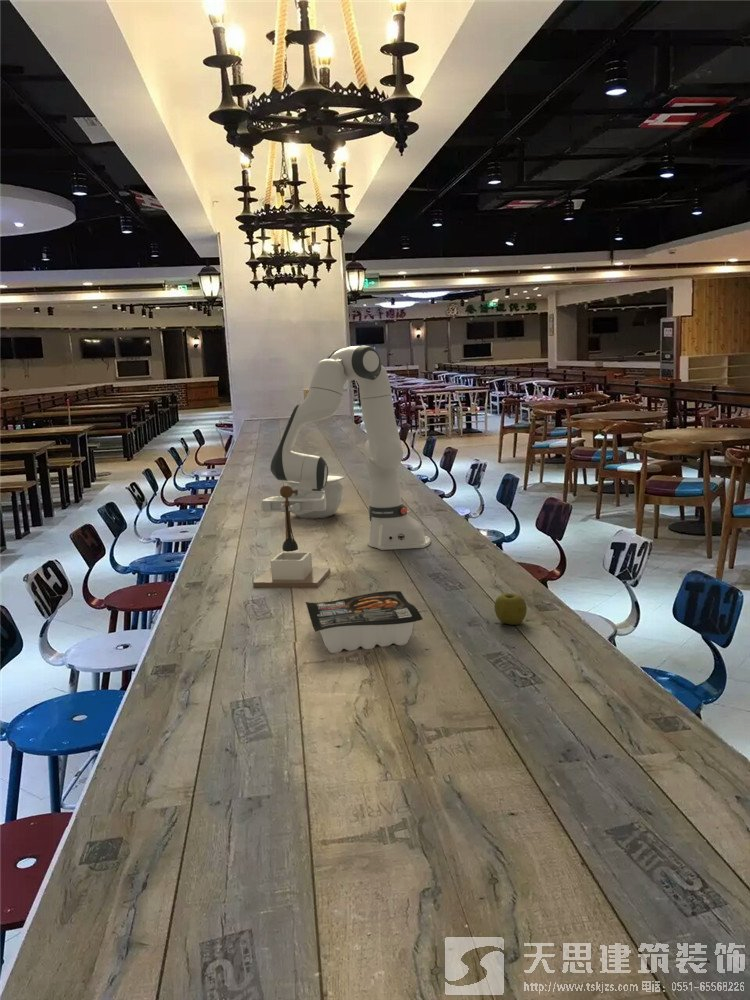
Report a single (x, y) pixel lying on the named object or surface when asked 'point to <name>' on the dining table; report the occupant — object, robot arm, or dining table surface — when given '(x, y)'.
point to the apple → (510, 608)
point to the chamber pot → (332, 496)
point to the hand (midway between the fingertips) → (286, 509)
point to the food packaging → (364, 621)
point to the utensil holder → (292, 572)
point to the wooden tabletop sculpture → (288, 520)
